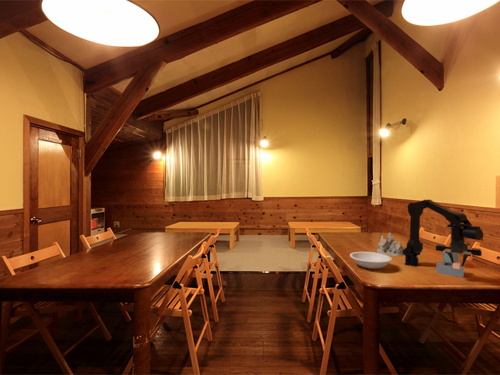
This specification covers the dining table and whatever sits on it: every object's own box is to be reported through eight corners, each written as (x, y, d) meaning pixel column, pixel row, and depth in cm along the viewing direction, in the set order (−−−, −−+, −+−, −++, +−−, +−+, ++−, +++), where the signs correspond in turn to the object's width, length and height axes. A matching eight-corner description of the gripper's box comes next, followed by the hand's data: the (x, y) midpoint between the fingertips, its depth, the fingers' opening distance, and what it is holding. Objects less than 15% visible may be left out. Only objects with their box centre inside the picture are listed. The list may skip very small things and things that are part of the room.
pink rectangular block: (452, 267, 136) (452, 263, 136) (456, 266, 139) (456, 261, 139) (459, 269, 134) (459, 264, 134) (463, 267, 136) (463, 263, 136)
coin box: (436, 272, 147) (436, 264, 147) (438, 268, 154) (438, 260, 154) (463, 277, 139) (463, 268, 139) (464, 273, 146) (464, 264, 146)
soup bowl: (350, 271, 152) (350, 260, 152) (349, 260, 175) (349, 250, 175) (396, 275, 144) (395, 263, 144) (388, 263, 166) (388, 253, 166)
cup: (440, 265, 160) (440, 249, 160) (447, 263, 164) (447, 248, 164) (454, 269, 153) (453, 252, 153) (461, 267, 156) (461, 251, 156)
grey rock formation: (373, 250, 199) (375, 231, 198) (395, 251, 199) (396, 232, 198) (384, 257, 183) (385, 236, 182) (407, 257, 183) (408, 237, 182)
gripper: (434, 236, 137) (434, 265, 137) (481, 241, 124) (481, 273, 124) (437, 233, 145) (437, 261, 145) (481, 237, 132) (481, 268, 132)
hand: (458, 265), depth 136 cm, fingers closed on pink rectangular block, 3 cm apart
